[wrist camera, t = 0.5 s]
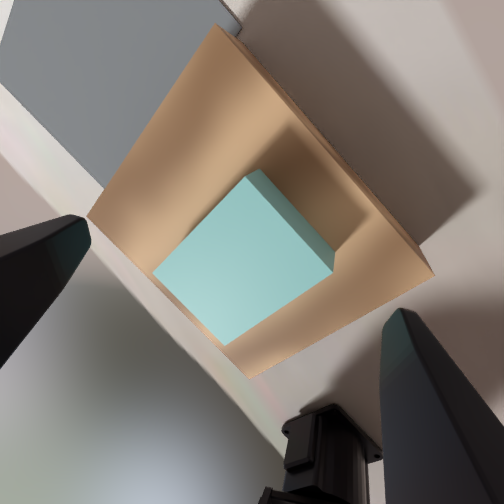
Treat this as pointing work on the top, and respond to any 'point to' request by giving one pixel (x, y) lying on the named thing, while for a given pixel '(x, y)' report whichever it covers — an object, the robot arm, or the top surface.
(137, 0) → the slate mat
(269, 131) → the oak deck
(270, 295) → the teal tile
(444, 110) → the top surface
